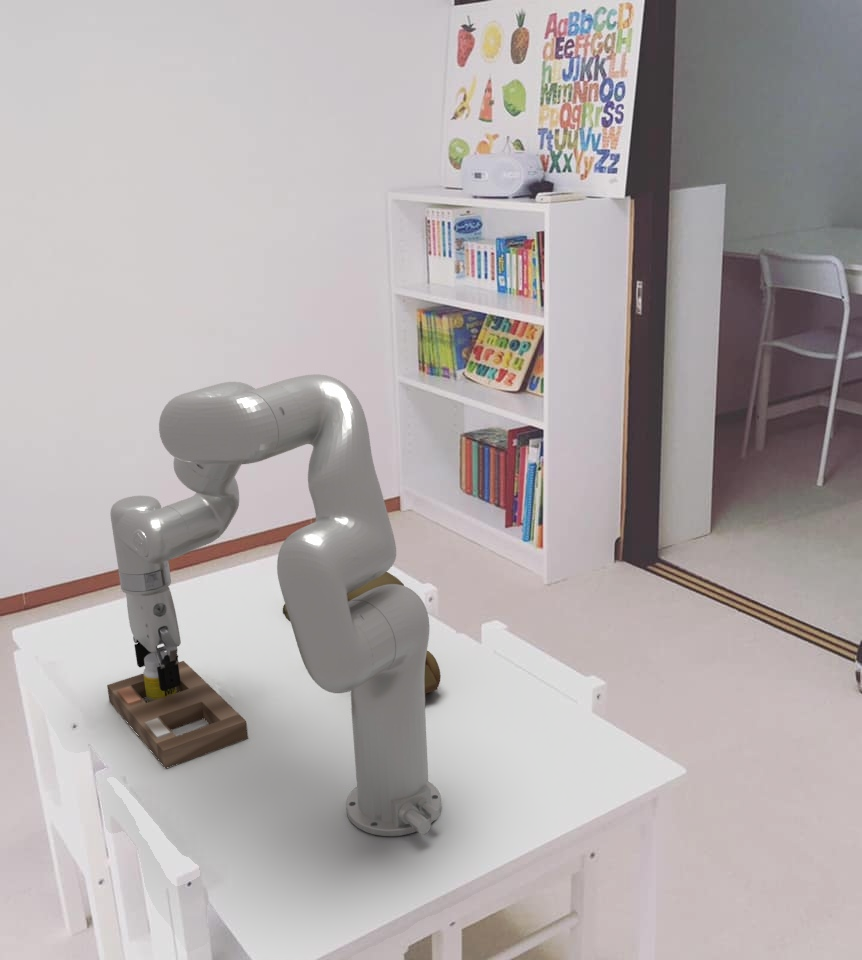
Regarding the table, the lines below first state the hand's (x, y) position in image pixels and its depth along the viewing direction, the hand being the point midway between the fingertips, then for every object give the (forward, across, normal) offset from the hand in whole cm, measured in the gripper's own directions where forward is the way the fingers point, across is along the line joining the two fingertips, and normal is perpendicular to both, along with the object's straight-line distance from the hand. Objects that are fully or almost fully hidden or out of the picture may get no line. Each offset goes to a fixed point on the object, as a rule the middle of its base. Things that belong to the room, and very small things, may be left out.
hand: (158, 675), depth 171 cm
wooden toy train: (+6, -17, -31) cm, 36 cm away
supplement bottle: (+5, 0, 0) cm, 5 cm away
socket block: (+5, -6, 0) cm, 8 cm away
